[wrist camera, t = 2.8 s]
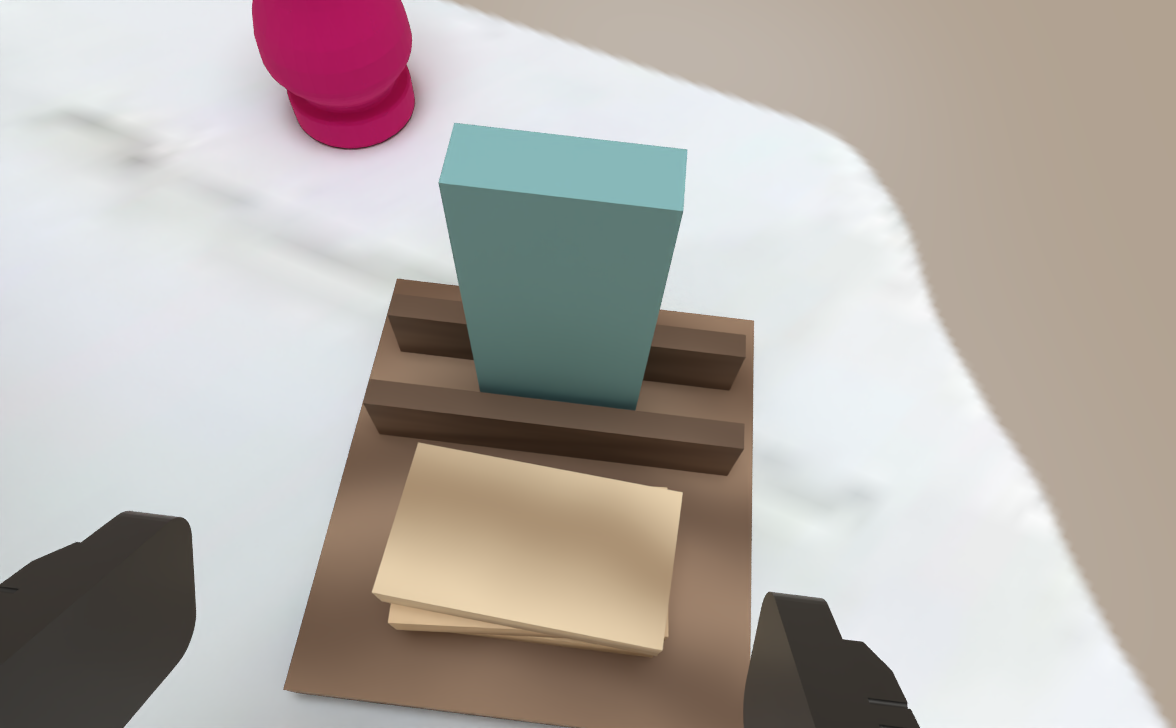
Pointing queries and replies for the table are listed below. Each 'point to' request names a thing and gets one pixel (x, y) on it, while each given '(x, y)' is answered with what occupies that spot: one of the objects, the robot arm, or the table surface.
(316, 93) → the pepper mill
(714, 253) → the table surface
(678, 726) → the rack
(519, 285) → the teal rectangular block
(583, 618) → the offcut top
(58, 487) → the table surface
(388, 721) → the table surface
